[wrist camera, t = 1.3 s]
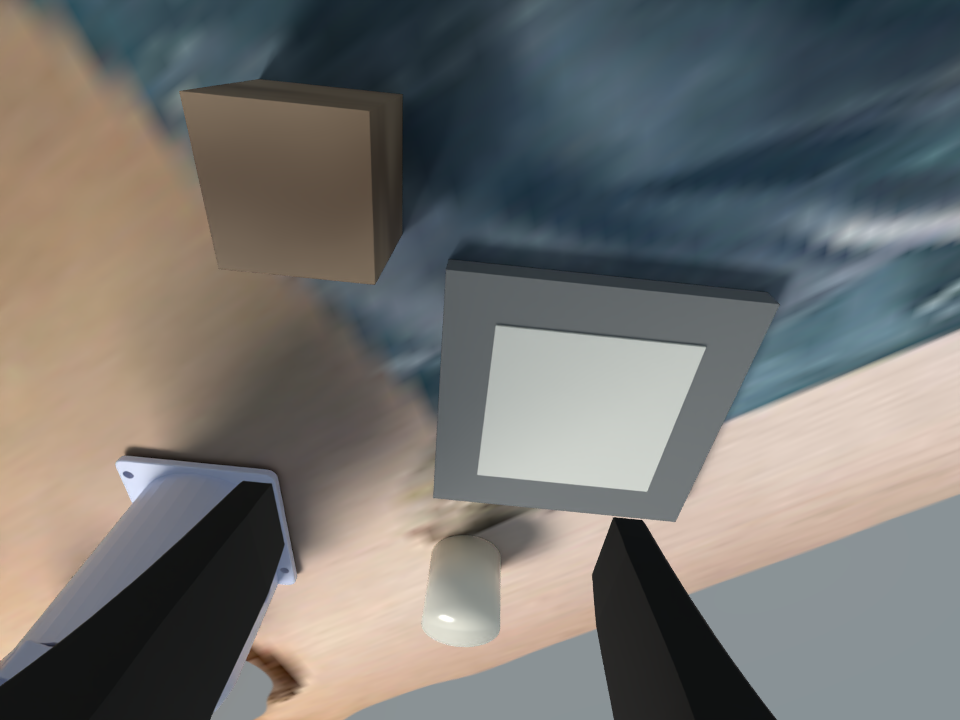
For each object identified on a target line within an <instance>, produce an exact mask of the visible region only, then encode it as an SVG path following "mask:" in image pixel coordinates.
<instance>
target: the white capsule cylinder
mask: <svg viewBox="0 0 960 720" xmlns="http://www.w3.org/2000/svg"><path fill="white" fill-rule="evenodd" d="M500 583H501V556H500V552H499V551H498V549H497V548H496V547H495V546H494V545H493V544H492V543H490V542H489V541H487V540H485V539H482V538H479V537H475V536H470V535H457V536H451V537H448V538H445V539H443V540H441V541H440V542H438V543H437V544H436V545H435V546H434V548H433V550H432V555H431V561H430V568H429V575H428V582H427V589H426V595H425V602H424V609H423V616H422V623H421V624H422V628H423V630H424V632H425V633H426V634H427V635H428V636H429V637H431V638H432V639H434V640H436V641H438V642H440V643H443V644H446V645H451V646H457V647H473V646H479V645H483V644H486V643H488V642H490V641H492V640H493V639H494V638H496V636H497V635H498V634H499V631H500Z"/></svg>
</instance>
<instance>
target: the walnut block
mask: <svg viewBox="0 0 960 720" xmlns="http://www.w3.org/2000/svg"><path fill="white" fill-rule="evenodd" d="M179 92H180V96H181V101H182V105H183V110H184V114H185V119H186V123H187V128H188V132H189V137H190V141H191V146H192V151H193V155H194V160H195V164H196V169H197V173H198V178H199V182H200V187H201V191H202V196H203V200H204V205H205V209H206V214H207V218H208V223H209V227H210V232H211V236H212V241H213V245H214V250H215V254H216V259H217V263H218V268H219V269H224V270H234V271H243V272H253V273H263V274H273V275H283V276H293V277H303V278H313V279H323V280H333V281H342V282H352V283H362V284H372V285H375V284H376V282H377V280H378V278H379V276H380V275H381V273H382V271H383V269H384V267H385V265H386V264H387V262H388V260H389V258H390V256H391V254H392V252H393V251H394V249H395V247H396V245H397V243H398V241H399V239H400V238H401V236H402V131H403V94H394V93H385V92H375V91H366V90H356V89H347V88H338V87H328V86H319V85H309V84H300V83H290V82H281V81H271V80H262V79H257V80H250V81H244V82H237V83H230V84H224V85H217V86H210V87H204V88H197V89H190V90H183V91H179Z"/></svg>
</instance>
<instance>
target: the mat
mask: <svg viewBox="0 0 960 720" xmlns="http://www.w3.org/2000/svg"><path fill="white" fill-rule="evenodd" d="M779 305H780V304H779V303H778V302H777V301H776V300H775V299H774V298H773V297H772V296H771V295H770V294H769V293H767V292H759V291H749V290H740V289H730V288H721V287H711V286H701V285H692V284H682V283H673V282H663V281H653V280H644V279H634V278H625V277H615V276H605V275H596V274H586V273H577V272H567V271H557V270H548V269H538V268H528V267H519V266H509V265H500V264H490V263H480V262H471V261H461V260H452V259H449V260H448V264H447V268H446V278H445V296H444V314H443V332H442V350H441V367H440V385H439V403H438V421H437V439H436V457H435V475H434V493H433V498H439V499H449V500H459V501H469V502H479V503H489V504H499V505H510V506H520V507H530V508H540V509H550V510H560V511H570V512H580V513H590V514H601V515H611V516H621V517H631V518H641V519H651V520H661V521H671V522H676V520H677V518H678V515H679V513H680V511H681V509H682V507H683V505H684V503H685V501H686V499H687V497H688V495H689V493H690V491H691V488H692V486H693V484H694V482H695V480H696V478H697V476H698V474H699V472H700V470H701V468H702V466H703V463H704V461H705V459H706V457H707V455H708V453H709V451H710V449H711V447H712V445H713V443H714V441H715V438H716V436H717V434H718V432H719V430H720V428H721V426H722V424H723V422H724V420H725V418H726V416H727V413H728V411H729V409H730V407H731V405H732V403H733V401H734V399H735V397H736V395H737V393H738V391H739V388H740V386H741V384H742V382H743V380H744V378H745V376H746V374H747V372H748V370H749V368H750V366H751V363H752V361H753V359H754V357H755V355H756V353H757V351H758V349H759V347H760V345H761V343H762V341H763V339H764V336H765V334H766V332H767V330H768V328H769V326H770V324H771V322H772V320H773V318H774V316H775V314H776V311H777V309H778V307H779Z"/></svg>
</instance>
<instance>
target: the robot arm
mask: <svg viewBox="0 0 960 720" xmlns="http://www.w3.org/2000/svg"><path fill="white" fill-rule="evenodd" d="M115 465H116V468H117V470H118V472H119V475H120V477H121V479H122V481H123V483H124V486H125V488H126V490H127V492H128V494H129V497H130V499H131V501H132V505H131V506H130V507H129V508H128V510H127V511H126V512H125V513H124V514H123V516H122V517H121V518H120V519H119V521H118V522H117V523H116V524H115V526H114V527H113V528H112V529H111V530H110V532H109V533H108V534H107V535H106V537H105V538H104V539H103V540H102V541H101V543H100V544H99V545H98V546H97V548H96V549H95V550H94V551H93V553H92V554H91V555H90V556H89V557H88V559H87V560H86V561H85V562H84V564H83V565H82V566H81V567H80V569H79V570H78V571H77V572H76V573H75V575H74V576H73V577H72V578H71V580H70V581H69V582H68V583H67V584H66V586H65V587H64V588H63V589H62V591H61V592H60V593H59V594H58V596H57V597H56V598H55V599H54V600H53V602H52V603H51V604H50V605H49V607H48V608H47V609H46V610H45V611H44V613H43V614H42V615H41V616H40V618H39V619H38V620H37V621H36V623H35V624H34V625H33V626H32V627H31V629H30V630H29V631H28V632H27V634H26V635H25V636H24V637H23V639H22V640H21V641H20V642H19V643H18V645H17V646H16V647H15V648H14V650H13V651H12V652H10V653H9V654H8V655H7V656H6V657H4V658H3V659H2V660H1V661H0V720H210V719H211V715H212V714H213V713H214V712H215V711H216V710H217V709H218V708H219V707H220V705H221V704H222V703H223V702H224V701H225V699H226V698H227V697H228V695H229V694H230V692H231V691H232V689H233V687H234V686H235V684H236V682H237V679H238V677H239V675H240V672H241V670H242V668H243V665H244V663H245V661H246V658H247V656H248V654H249V651H250V649H251V646H252V644H253V642H254V639H255V637H256V635H257V632H258V630H259V628H260V625H261V623H262V620H263V618H264V616H265V613H266V611H267V609H268V606H269V604H270V602H271V599H272V597H273V595H274V592H275V590H276V587H277V585H278V584H285V585H291V584H294V583H295V581H296V579H297V572H296V567H295V562H294V557H293V552H292V547H291V542H290V537H289V532H288V527H287V522H286V517H285V511H284V506H283V501H282V496H281V491H280V486H279V481H278V477H277V475H276V474H275V473H274V472H273V471H271V470H267V469H257V468H247V467H236V466H226V465H216V464H206V463H196V462H186V461H176V460H166V459H156V458H146V457H136V456H122V457H120V458H119V459H118V460H117V461H116V463H115ZM592 580H593V593H594V606H595V617H596V627H597V632H598V638H599V643H600V649H601V654H602V659H603V665H604V670H605V675H606V680H607V685H608V691H609V696H610V700H611V706H612V711H613V717H614V720H777V719H776V718H775V717H774V716H773V714H772V713H771V712H770V711H769V709H768V708H767V707H766V705H765V704H764V703H763V701H762V700H761V699H760V697H759V696H758V695H757V693H756V692H755V691H754V689H753V688H752V687H751V685H750V684H749V682H748V681H747V680H746V679H745V677H744V676H743V674H742V673H741V672H740V670H739V669H738V667H737V666H736V665H735V663H734V662H733V660H732V659H731V658H730V656H729V655H728V653H727V652H726V651H725V649H724V648H723V646H722V645H721V643H720V642H719V640H718V639H717V638H716V636H715V635H714V633H713V632H712V630H711V629H710V627H709V626H708V624H707V623H706V621H705V619H704V618H703V616H702V615H701V614H700V612H699V610H698V609H697V607H696V606H695V605H694V603H693V601H692V600H691V598H690V597H689V595H688V594H687V592H686V590H685V589H684V587H683V586H682V584H681V582H680V581H679V579H678V578H677V576H676V574H675V573H674V571H673V570H672V568H671V566H670V565H669V563H668V561H667V560H666V558H665V556H664V555H663V553H662V551H661V550H660V548H659V546H658V545H657V543H656V541H655V540H654V538H653V536H652V534H651V533H650V531H649V529H648V528H647V526H646V524H645V523H644V522H643V521H642V520H636V519H626V518H616V517H613V520H612V522H611V525H610V528H609V530H608V533H607V536H606V539H605V541H604V544H603V547H602V549H601V552H600V555H599V558H598V560H597V563H596V566H595V568H594V571H593V574H592Z"/></svg>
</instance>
